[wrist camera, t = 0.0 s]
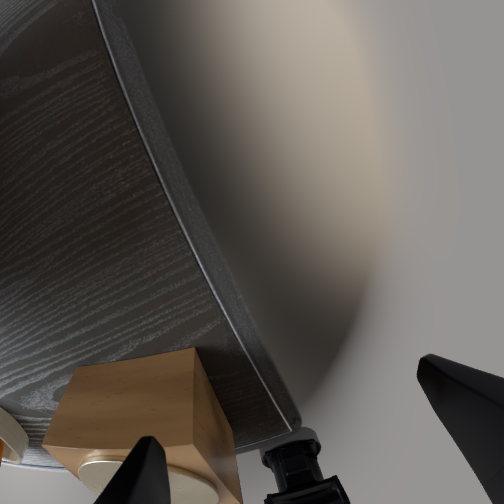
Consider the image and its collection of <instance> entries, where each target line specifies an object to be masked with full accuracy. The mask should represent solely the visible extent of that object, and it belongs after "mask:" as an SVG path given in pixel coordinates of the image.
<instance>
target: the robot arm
mask: <svg viewBox="0 0 504 504" xmlns="http://www.w3.org/2000/svg"><path fill="white" fill-rule="evenodd" d="M417 379H418V382H419V383H420V385H421V387H422V389H423V391H424V393H425V394H426V396H427V398H428V400H429V402H430V404H431V406H432V408H433V409H434V411H435V413H436V414H437V416H438V417H439V419H440V420H441V422H442V423H443V425H444V426H445V428H446V429H447V431H448V432H449V434H450V435H451V437H452V438H453V440H454V441H455V443H456V444H457V446H458V447H459V449H460V450H461V452H462V453H463V455H464V457H465V458H466V460H467V462H468V463H469V465H470V466H471V468H472V469H473V471H474V473H475V474H476V476H477V478H478V479H479V481H480V483H481V484H482V486H483V488H484V490H485V491H486V493H487V495H488V497H489V498H490V500H491V502H492V503H493V504H504V378H503V377H499V376H496V375H493V374H490V373H487V372H484V371H481V370H478V369H474V368H472V367H468V366H466V365H463V364H460V363H457V362H454V361H451V360H448V359H445V358H442V357H439V356H437V355H434V354H427V355H425V356H423V357H422V358H420V360H419V365H418V370H417ZM264 454H265V457H266V459H267V462H268V464H269V466H270V468H271V470H272V472H273V473H274V475H275V479H276V483H277V487H278V490H279V493H274V494H267V498H266V499H265V500H264V504H350V501H349V499H348V496H347V494H346V492H345V491H344V488H343V487H342V485H341V483H340V481H339V479H338V477H337V475H335V476H332V477H331V478H328V479H325V480H324V478H323V475H322V472H321V470H320V467H319V465H318V462H317V460H318V459H317V450H316V442H315V439H313V438H312V439H308V440H305V441H302V442H298V443H295V444H291V445H288V446H284V447H280V448H276V449H272V450H268V451H266V452H264ZM94 504H171V492H170V483H169V476H168V469H167V461H166V453H165V450H164V448H163V447H162V446H161V444H160V443H159V442H158V441H157V439H156V438H155V437H154V436H142V437H141V438H140V439H139V440H138V441H137V443H136V444H135V446H134V447H133V449H132V450H131V451H130V453H129V454H128V456H127V457H126V459H125V460H124V461H123V463H122V464H121V466H120V467H119V469H118V470H117V471H116V473H115V474H114V476H113V477H112V478H111V480H110V481H109V483H108V484H107V485H106V487H105V488H104V490H103V491H102V492H101V494H100V495H99V497H98V498H97V500H96V501H95V502H94Z"/></svg>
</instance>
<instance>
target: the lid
mask: <svg viewBox="0 0 504 504" xmlns="http://www.w3.org/2000/svg"><path fill="white" fill-rule="evenodd" d="M125 459H126V457H124V456H94V457H90V458H87V459H85V460H84V461H82V462H81V464H80V465H79V469H78V475H79V478H80V480H81V481H82V482H83V484H84V485H85V486H86V487H87V488H89V489H90V490H91V491H92V492H93V493H95V494H96V495H98V496H99V495H100V494H101V492H102V491H103V490H104V488H105V487H106V485H107V484H108V483H109V481H110V480H111V478H112V477H113V476H114V474H115V473H116V471H117V470H118V469H119V467H120V466H121V464H122V463H123V461H124V460H125ZM167 469H168V476H169V483H170V492H171V504H217V503H218V501H219V493H218V490H217V488H216V487H215V486H214V485H213V484H212V483H211V482H210V481H208V480H207V479H205V478H203V477H201V476H199V475H197V474H195V473H192V472H190V471H187V470H184V469H181V468H178V467H175V466H171V465H167Z"/></svg>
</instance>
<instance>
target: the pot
mask: <svg viewBox="0 0 504 504" xmlns="http://www.w3.org/2000/svg"><path fill="white" fill-rule="evenodd" d="M0 439H2V440H3V441H4V449H3V455H2V458H3V459H5V460H7V461H9V462H11V463H15V464H19V463H21V462H22V459H23V457H24V454H25V452H26V449H27V447H28V443H29V438H28V435H27V433H26V432H25V430H24V429H23V428H22V427H21V425H20V424H19V423H18V422H17V421H16V420H15V419H14V418H13V417H12V416H11V415H10V414H9V413H7V412H6V411H5V410H4V409H2V408H1V407H0Z"/></svg>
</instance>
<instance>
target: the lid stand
mask: <svg viewBox="0 0 504 504" xmlns="http://www.w3.org/2000/svg"><path fill="white" fill-rule="evenodd" d="M142 436H154V437H155V438H156V439H157V441H158V442H159V443H160V444H161V446H162V447H163V448H164V450H165V453H166V461H167V465H171V466H175V467H178V468H181V469H184V470H187V471H190V472H192V473H195V474H197V475H199V476H201V477H203V478H205V479H207V480H208V481H210V482H211V483H212V484H213V485H214V486H215V487H216V488H217V490H218V493H219V501H218V503H217V504H243V499H242V493H241V487H240V480H239V474H238V468H237V461H236V454H235V447H234V440H233V432H232V429H231V427H230V424H229V422H228V420H227V418H226V416H225V414H224V412H223V410H222V408H221V406H220V404H219V402H218V399H217V397H216V395H215V393H214V391H213V388H212V386H211V384H210V382H209V380H208V377H207V375H206V373H205V370H204V368H203V366H202V363H201V361H200V359H199V356H198V354H197V351H196V349H195V347H192V348H188V349H183V350H178V351H173V352H168V353H163V354H158V355H152V356H147V357H141V358H135V359H129V360H123V361H117V362H110V363H103V364H96V365H89V366H81V367H77V368H76V370H75V372H74V374H73V376H72V378H71V380H70V382H69V384H68V386H67V388H66V390H65V392H64V394H63V396H62V398H61V401H60V403H59V405H58V407H57V409H56V412H55V414H54V416H53V418H52V421H51V423H50V425H49V428H48V430H47V432H46V435H45V437H44V440H43V442H42V446H43V447H44V448H45V449H46V450H47V451H48V452H49V453H50V454H51V455H52V456H53V457H54V458H55V459H56V460H57V461H58V462H60V463H61V464H62V465H63V466H64V467H65V468H66V469H67V470H68V471H70V472H71V473H72V474H73V475H74V476H76V477H77V478H78V479H79V480H80V478H79V475H78V469H79V465H80V464H81V462H82V461H84V460H85V459H87V458H90V457H94V456H124V457H127V456H128V454H129V453H130V451H131V450H132V449H133V447H134V446H135V444H136V443H137V441H138V440H139V439H140V438H141V437H142ZM80 481H81V480H80Z"/></svg>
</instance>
